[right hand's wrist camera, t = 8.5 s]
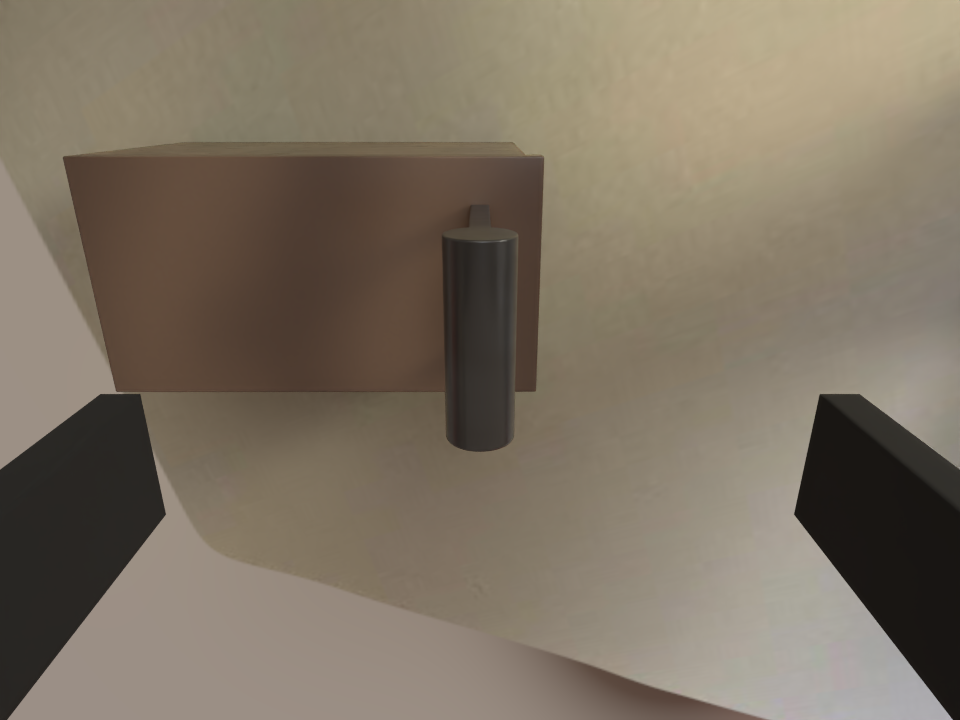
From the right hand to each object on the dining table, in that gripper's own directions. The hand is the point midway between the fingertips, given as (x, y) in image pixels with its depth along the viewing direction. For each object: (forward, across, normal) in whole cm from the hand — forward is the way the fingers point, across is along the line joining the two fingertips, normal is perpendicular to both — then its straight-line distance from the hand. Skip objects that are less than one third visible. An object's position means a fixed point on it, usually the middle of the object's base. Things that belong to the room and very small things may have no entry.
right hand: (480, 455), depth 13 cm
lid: (+14, -6, 0) cm, 16 cm away
